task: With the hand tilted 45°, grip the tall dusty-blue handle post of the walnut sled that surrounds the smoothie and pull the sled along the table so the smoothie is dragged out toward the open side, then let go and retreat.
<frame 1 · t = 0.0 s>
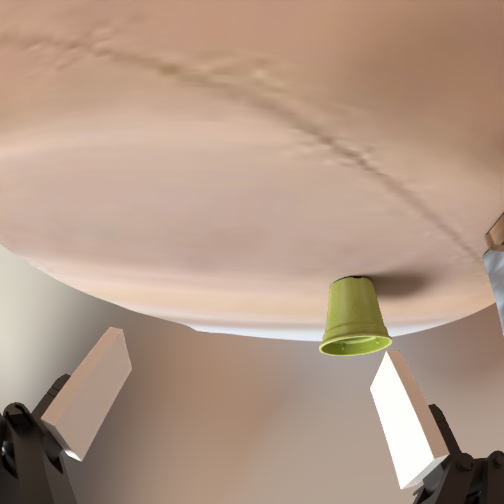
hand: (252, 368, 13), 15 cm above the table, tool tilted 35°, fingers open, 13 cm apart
plant pot: (351, 285, 37), on the table
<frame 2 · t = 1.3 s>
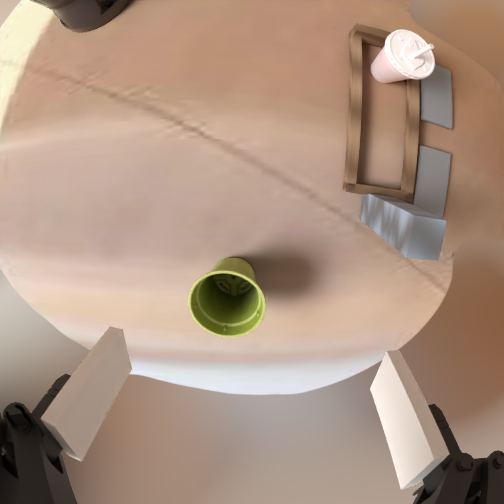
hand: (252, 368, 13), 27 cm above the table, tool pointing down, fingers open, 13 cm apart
smoothie: (381, 71, 30), resting in sled
sled: (406, 121, 25), point 8 cm above the table, slide at 0.0 cm
broken strip: (433, 136, 32), on the table
plant pot: (234, 275, 41), on the table
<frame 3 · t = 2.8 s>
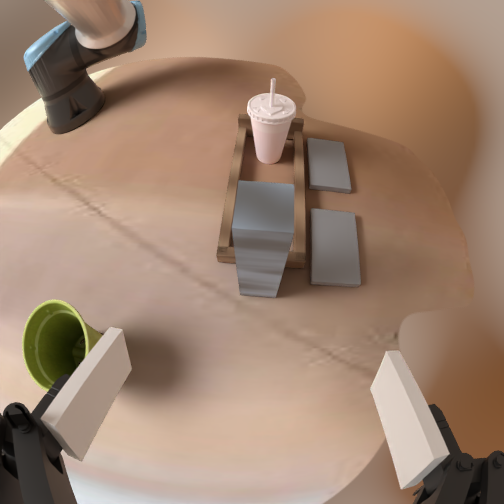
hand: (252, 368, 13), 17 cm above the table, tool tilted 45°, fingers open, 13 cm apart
smoothie: (268, 156, 41), resting in sled
sled: (268, 159, 30), point 8 cm above the table, slide at 0.0 cm
broken strip: (330, 202, 37), on the table
plant pot: (94, 356, 28), on the table
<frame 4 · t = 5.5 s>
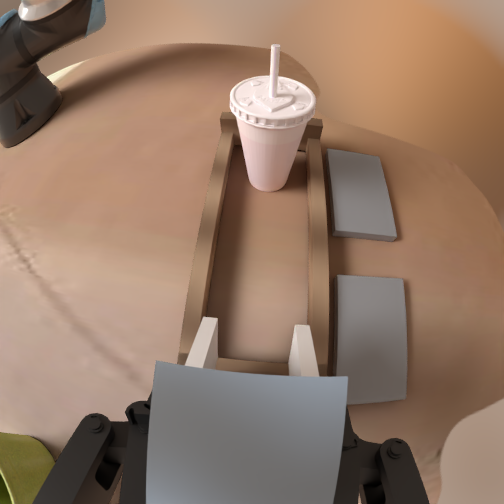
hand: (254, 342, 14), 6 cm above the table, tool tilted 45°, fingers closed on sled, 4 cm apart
smoothie: (267, 178, 27), resting in sled
sled: (266, 199, 16), point 8 cm above the table, slide at 0.0 cm, touching gripper
broken strip: (365, 259, 23), on the table
plant pot: (39, 463, 14), on the table
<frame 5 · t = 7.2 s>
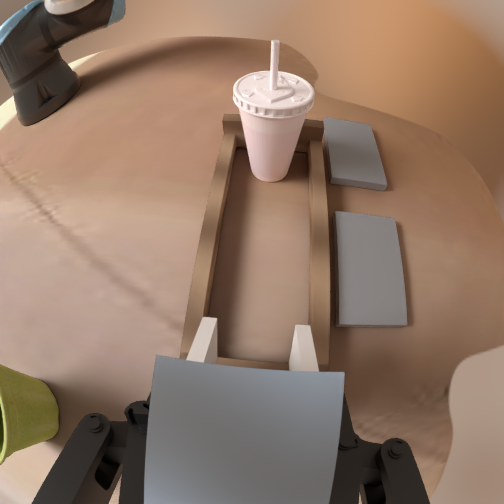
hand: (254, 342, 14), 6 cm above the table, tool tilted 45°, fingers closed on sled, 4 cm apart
smoothie: (269, 169, 28), resting in sled
sled: (267, 200, 16), point 8 cm above the table, slide at 6.1 cm, touching gripper, smoothie
broken strip: (360, 203, 26), on the table
plant pot: (40, 409, 17), on the table
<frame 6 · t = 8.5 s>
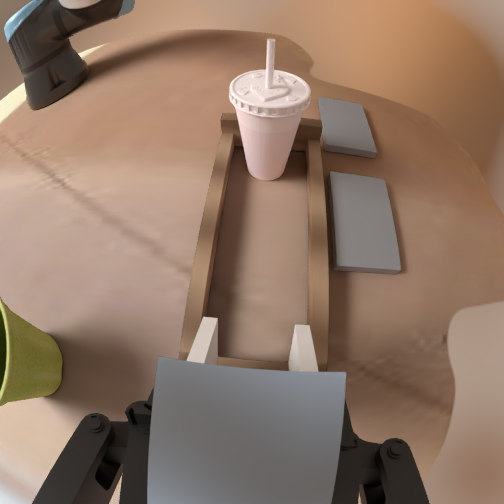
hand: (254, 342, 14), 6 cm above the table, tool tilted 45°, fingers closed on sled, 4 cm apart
smoothie: (265, 168, 28), resting in sled
sled: (266, 199, 16), point 8 cm above the table, slide at 10.8 cm, touching gripper, smoothie
broken strip: (352, 167, 28), on the table
plant pot: (43, 365, 19), on the table
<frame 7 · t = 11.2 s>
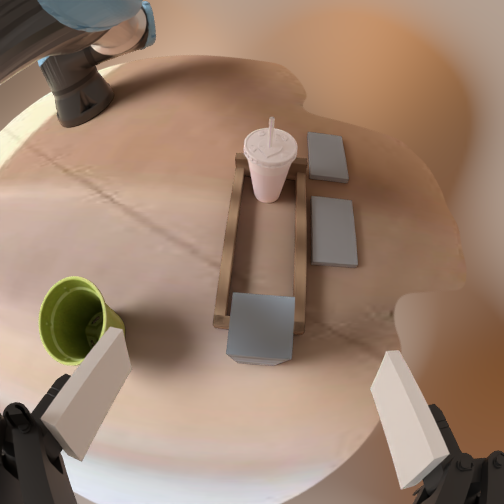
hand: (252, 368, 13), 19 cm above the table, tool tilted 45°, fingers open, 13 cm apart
smoothie: (267, 193, 40), resting in sled
sled: (267, 223, 29), point 8 cm above the table, slide at 10.8 cm
broken strip: (329, 191, 40), on the table
plant pot: (106, 334, 31), on the table
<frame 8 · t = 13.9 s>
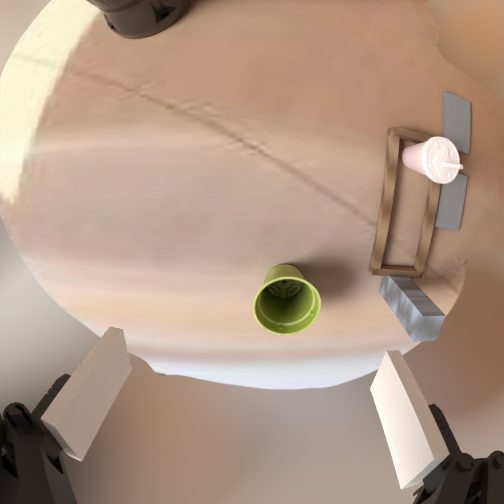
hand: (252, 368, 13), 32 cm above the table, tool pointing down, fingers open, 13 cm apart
smoothie: (410, 157, 38), resting in sled
sled: (427, 228, 33), point 8 cm above the table, slide at 10.8 cm
broken strip: (453, 161, 37), on the table
plant pot: (284, 280, 46), on the table
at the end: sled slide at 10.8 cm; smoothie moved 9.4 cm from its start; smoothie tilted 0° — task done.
